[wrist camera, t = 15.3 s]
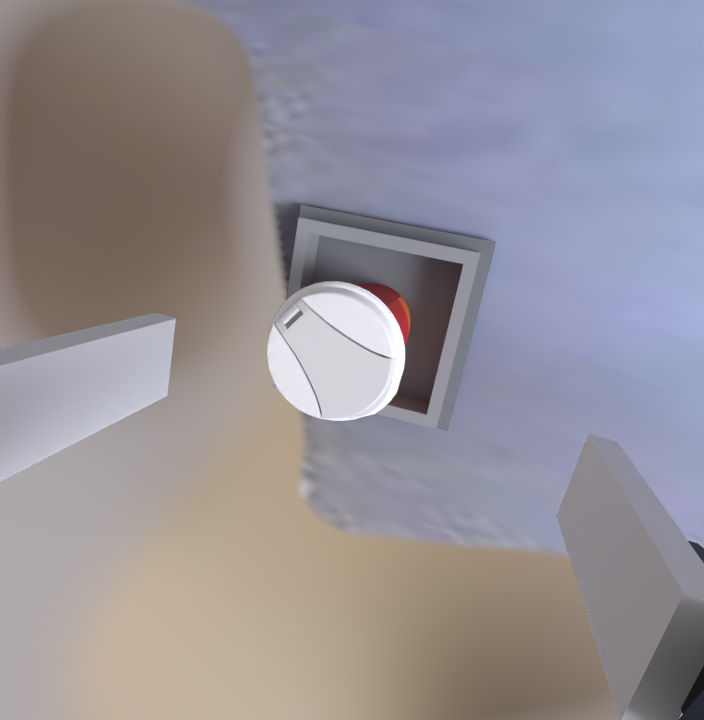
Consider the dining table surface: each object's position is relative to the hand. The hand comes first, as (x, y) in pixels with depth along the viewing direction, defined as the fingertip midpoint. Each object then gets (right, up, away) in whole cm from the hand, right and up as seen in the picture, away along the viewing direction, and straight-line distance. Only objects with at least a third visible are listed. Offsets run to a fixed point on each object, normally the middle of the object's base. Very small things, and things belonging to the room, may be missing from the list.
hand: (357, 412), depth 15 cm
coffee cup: (+2, +5, +26) cm, 27 cm away
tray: (+2, +5, +27) cm, 28 cm away
